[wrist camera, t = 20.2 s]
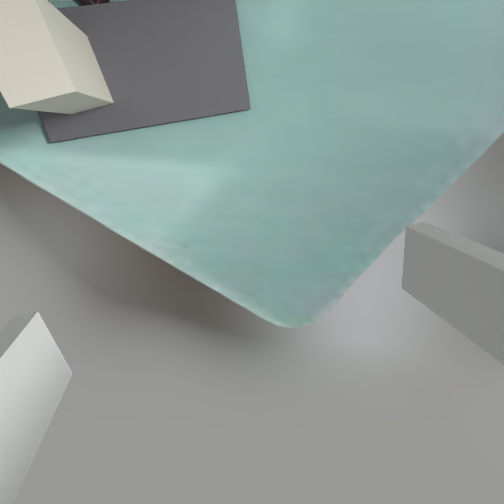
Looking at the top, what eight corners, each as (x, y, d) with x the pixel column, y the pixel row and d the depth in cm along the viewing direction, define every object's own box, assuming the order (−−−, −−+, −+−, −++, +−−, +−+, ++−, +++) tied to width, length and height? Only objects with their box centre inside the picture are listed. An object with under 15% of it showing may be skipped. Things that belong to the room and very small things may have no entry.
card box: (113, 103, 31) (75, 91, 21) (71, 114, 31) (9, 108, 20) (85, 32, 29) (24, -25, 18) (38, 43, 28) (-54, -8, 17)
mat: (232, -10, 30) (233, -13, 30) (249, 109, 35) (250, 108, 34) (1, 17, 28) (-2, 15, 27) (52, 142, 32) (50, 142, 32)
